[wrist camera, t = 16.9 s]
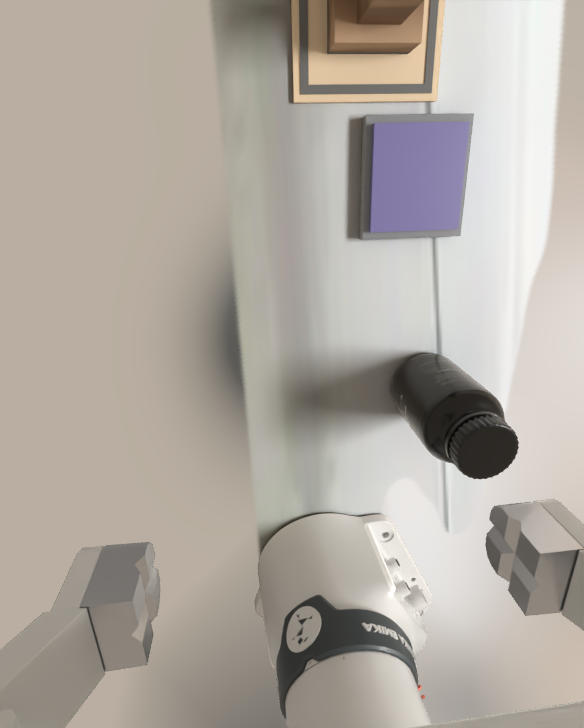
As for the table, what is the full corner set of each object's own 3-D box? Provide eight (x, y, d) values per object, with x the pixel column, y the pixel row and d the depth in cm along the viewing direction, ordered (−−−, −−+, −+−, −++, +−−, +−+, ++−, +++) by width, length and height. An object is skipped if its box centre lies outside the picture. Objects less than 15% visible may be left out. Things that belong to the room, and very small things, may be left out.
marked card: (435, 101, 33) (437, 100, 33) (293, 103, 32) (294, 102, 32) (450, -86, 29) (453, -89, 29) (288, -91, 28) (289, -95, 28)
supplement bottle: (375, 397, 42) (423, 470, 31) (415, 339, 41) (481, 393, 29) (429, 425, 44) (493, 503, 33) (470, 370, 42) (552, 433, 31)
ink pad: (454, 234, 37) (463, 236, 36) (359, 238, 37) (364, 240, 35) (467, 115, 34) (477, 112, 33) (362, 117, 33) (368, 113, 32)
